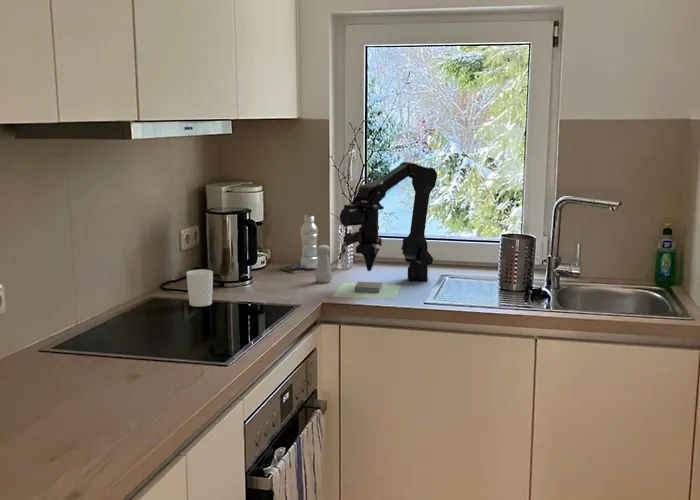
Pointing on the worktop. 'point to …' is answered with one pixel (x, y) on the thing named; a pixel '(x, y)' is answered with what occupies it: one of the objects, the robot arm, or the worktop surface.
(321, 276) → the salt shaker
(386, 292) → the trivet mat
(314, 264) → the plastic bottle
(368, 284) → the slate tile
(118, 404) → the worktop surface
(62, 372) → the worktop surface
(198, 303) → the white cup
